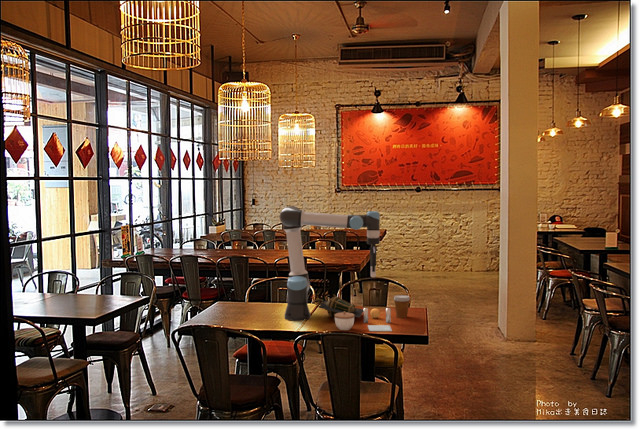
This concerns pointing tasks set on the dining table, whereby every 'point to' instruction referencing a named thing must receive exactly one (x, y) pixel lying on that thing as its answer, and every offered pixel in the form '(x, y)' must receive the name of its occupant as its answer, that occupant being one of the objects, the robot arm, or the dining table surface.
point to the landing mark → (379, 328)
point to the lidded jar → (344, 320)
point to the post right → (388, 315)
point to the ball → (374, 313)
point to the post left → (365, 315)
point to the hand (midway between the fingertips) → (373, 276)
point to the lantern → (339, 307)
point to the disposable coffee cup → (401, 305)
